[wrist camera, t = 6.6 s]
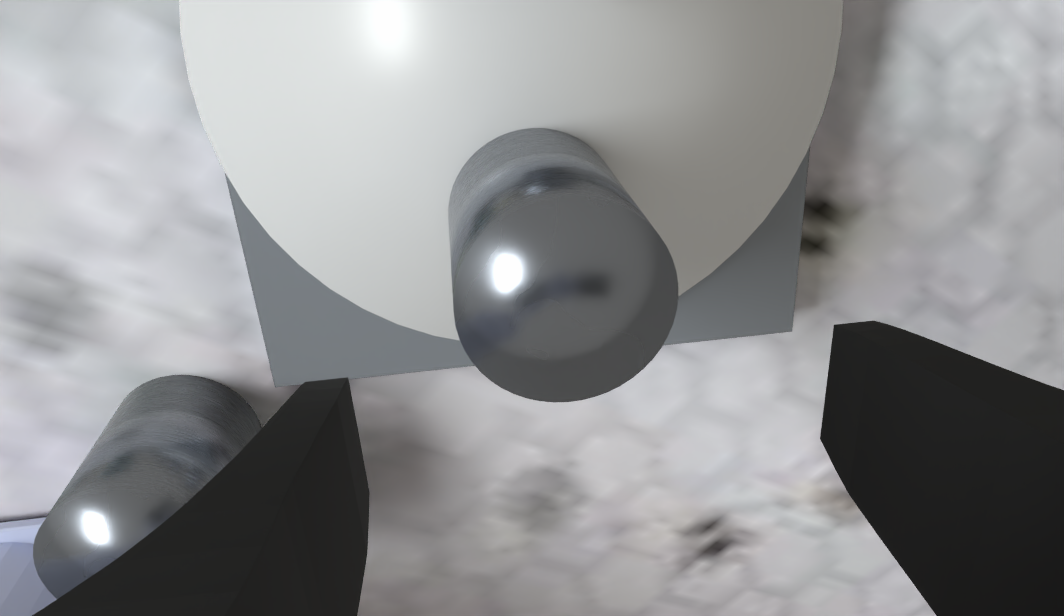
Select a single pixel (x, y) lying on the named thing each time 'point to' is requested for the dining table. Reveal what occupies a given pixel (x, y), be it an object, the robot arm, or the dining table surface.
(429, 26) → the scale
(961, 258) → the dining table surface
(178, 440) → the cylinder
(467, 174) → the cylinder
